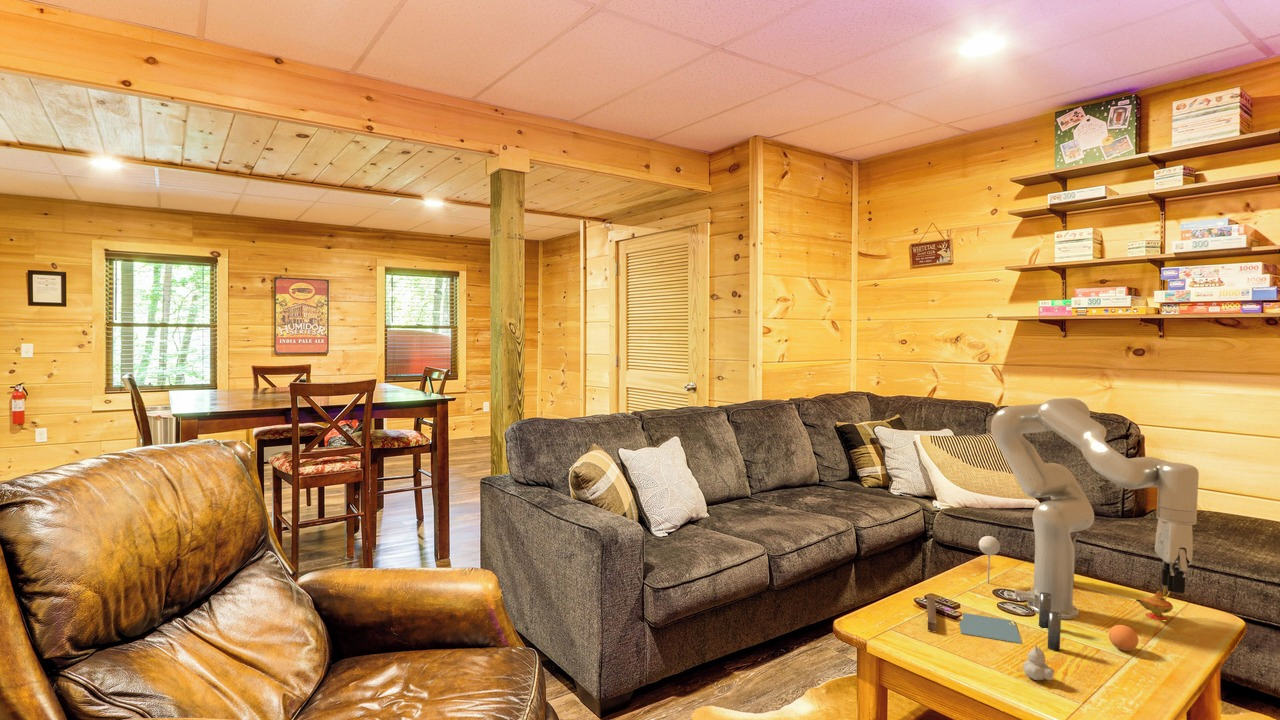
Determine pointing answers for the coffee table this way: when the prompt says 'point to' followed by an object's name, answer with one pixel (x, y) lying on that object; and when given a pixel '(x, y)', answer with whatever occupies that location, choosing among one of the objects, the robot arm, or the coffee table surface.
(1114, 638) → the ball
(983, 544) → the lollipop
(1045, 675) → the grey lumpy figure
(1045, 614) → the post
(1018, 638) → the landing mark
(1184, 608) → the coffee table surface
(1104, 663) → the coffee table surface
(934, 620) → the wall
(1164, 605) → the magic lamp
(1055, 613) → the post
